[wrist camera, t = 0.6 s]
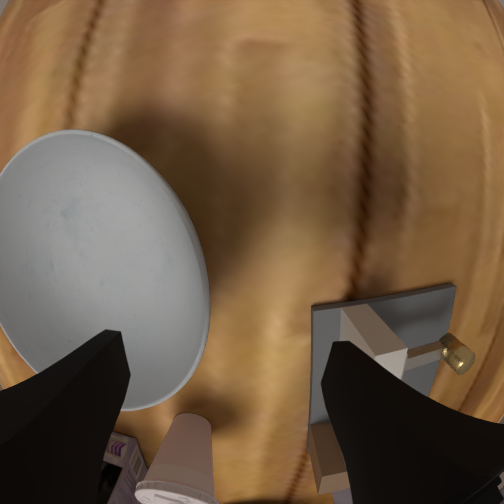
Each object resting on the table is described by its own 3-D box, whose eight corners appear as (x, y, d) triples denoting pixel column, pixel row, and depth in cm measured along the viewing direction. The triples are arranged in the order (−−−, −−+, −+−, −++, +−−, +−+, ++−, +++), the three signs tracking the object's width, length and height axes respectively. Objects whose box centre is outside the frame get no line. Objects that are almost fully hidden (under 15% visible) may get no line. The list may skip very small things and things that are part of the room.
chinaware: (166, 108, 16) (117, 64, 8) (262, 304, 19) (270, 372, 11) (27, 213, 17) (-38, 228, 10) (107, 364, 20) (67, 420, 13)
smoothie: (203, 396, 21) (176, 542, 7) (237, 436, 22) (233, 561, 9) (147, 410, 21) (102, 529, 8) (183, 447, 23) (161, 555, 9)
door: (414, 418, 23) (438, 459, 16) (306, 446, 23) (317, 498, 16) (451, 283, 19) (503, 314, 12) (310, 306, 19) (339, 363, 12)
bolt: (430, 404, 17) (445, 425, 14) (368, 425, 17) (379, 451, 14) (454, 328, 15) (478, 348, 12) (385, 348, 16) (405, 375, 13)
